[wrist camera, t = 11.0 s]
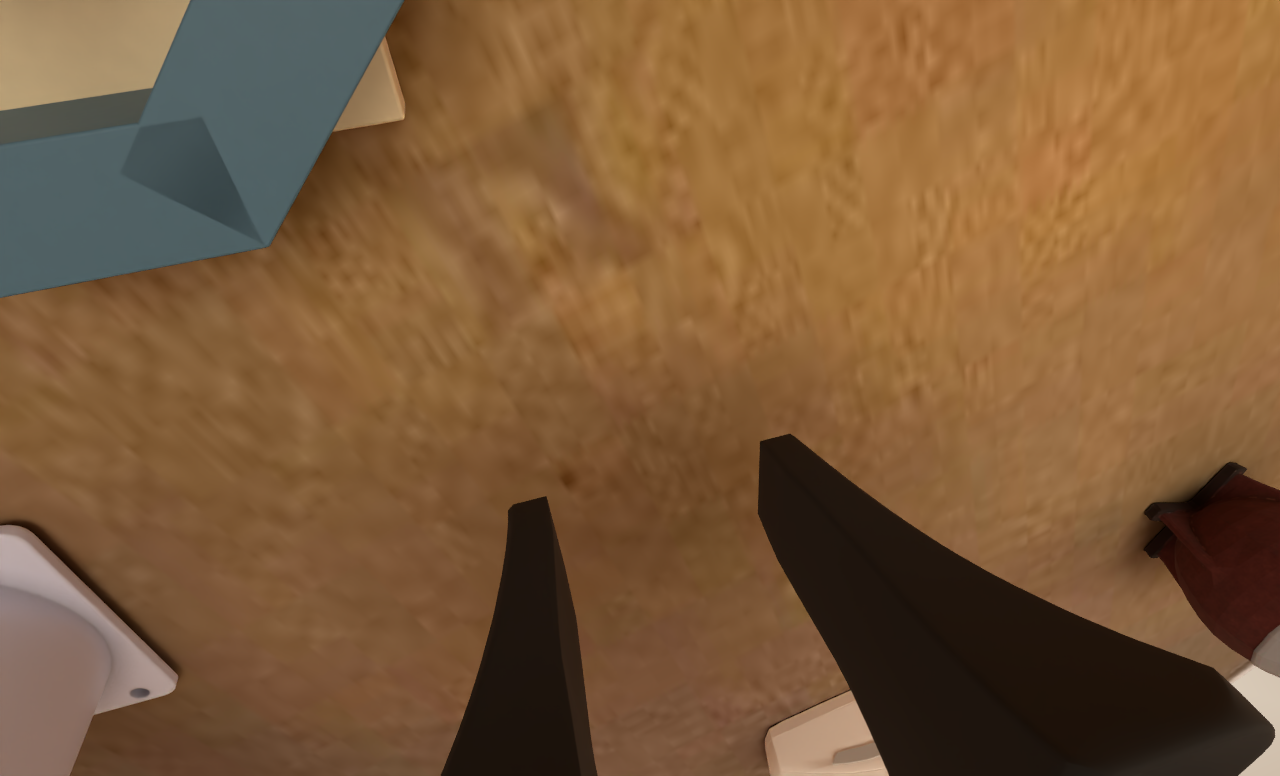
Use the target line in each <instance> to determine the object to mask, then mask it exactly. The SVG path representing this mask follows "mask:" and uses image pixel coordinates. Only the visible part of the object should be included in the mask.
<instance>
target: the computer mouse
mask: <svg viewBox="0 0 1280 776" xmlns="http://www.w3.org/2000/svg"><path fill="white" fill-rule="evenodd" d="M765 750H766V755H767V760H768V765H769V771H770V776H889V774H888V772H887V769H886V767H885V765H884V763H883V760H882V758H881V756H880V753H879V751H878V749H877V747H876V744H875V742H874V740H873V737H872V735H871V733H870V731H869V729H868V726H867V724H866V722H865V720H864V718H863V715H862V713H861V711H860V709H859V707H858V705H857V702H856V700H855V698H854V696H853V694H852V692H851V690H850V691H848V692H846V693H844V694H841V695H839V696H837V697H835V698H832V699H830V700H828V701H826V702H823V703H821V704H819V705H817V706H815V707H812V708H810V709H808V710H806V711H804V712H802V713H799V714H797V715H795V716H793V717H791V718H789V719H786V720H784V721H782V722H780V723H779V724H777V725H775V726H773V727H772V728H770V729H769V731H768V733H767V735H766V738H765Z"/></svg>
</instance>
